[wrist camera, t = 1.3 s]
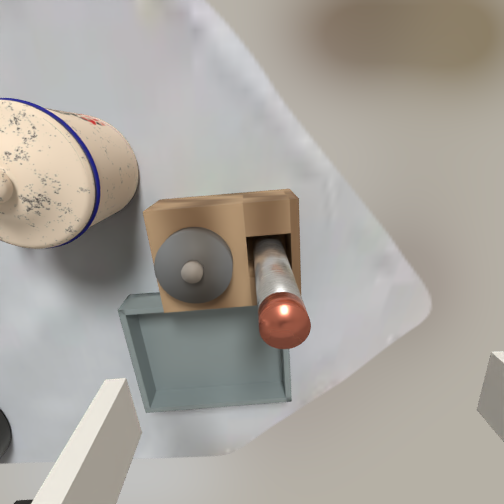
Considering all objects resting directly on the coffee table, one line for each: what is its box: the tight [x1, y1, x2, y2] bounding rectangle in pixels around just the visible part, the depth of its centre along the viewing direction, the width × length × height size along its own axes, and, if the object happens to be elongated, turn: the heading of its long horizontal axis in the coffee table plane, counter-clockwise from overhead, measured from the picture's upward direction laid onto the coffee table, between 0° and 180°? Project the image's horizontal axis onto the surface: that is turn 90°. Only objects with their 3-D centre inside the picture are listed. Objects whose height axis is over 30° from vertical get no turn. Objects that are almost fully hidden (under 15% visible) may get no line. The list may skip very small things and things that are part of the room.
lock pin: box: [253, 234, 311, 349], centre depth 22 cm, size 3×3×14 cm
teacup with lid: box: [0, 98, 138, 249], centre depth 21 cm, size 12×9×12 cm
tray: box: [118, 292, 292, 413], centre depth 32 cm, size 16×13×3 cm
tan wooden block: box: [143, 189, 301, 313], centre depth 26 cm, size 12×9×7 cm
